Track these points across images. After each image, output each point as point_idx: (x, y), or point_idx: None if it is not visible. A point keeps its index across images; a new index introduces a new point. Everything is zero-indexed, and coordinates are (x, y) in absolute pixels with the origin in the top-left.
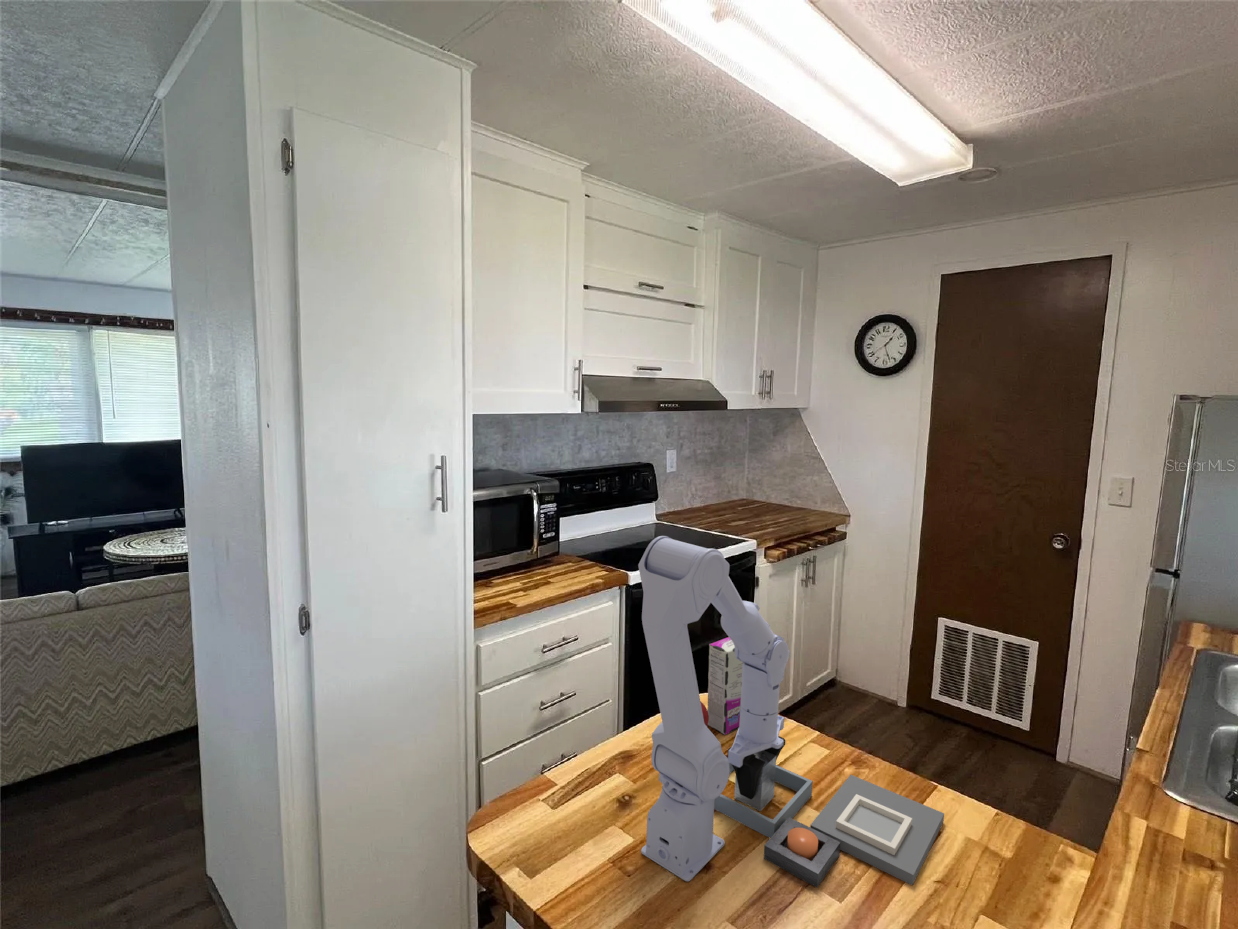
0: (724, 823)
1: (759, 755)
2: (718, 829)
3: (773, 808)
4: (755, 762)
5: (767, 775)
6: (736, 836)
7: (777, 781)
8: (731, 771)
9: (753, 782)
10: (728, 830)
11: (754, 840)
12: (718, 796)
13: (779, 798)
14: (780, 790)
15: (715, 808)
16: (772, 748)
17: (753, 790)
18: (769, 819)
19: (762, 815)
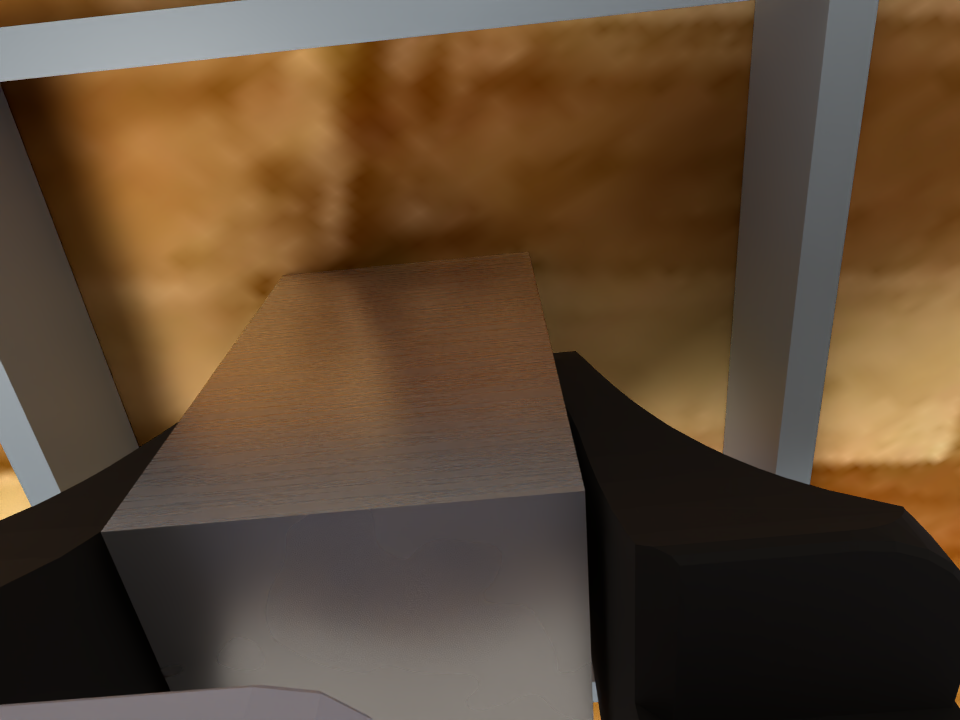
0: (844, 354)
1: (326, 667)
2: (933, 346)
3: (409, 197)
4: (838, 655)
5: (409, 400)
6: (934, 212)
7: (98, 360)
8: None
9: (675, 432)
10: (902, 293)
11: (898, 78)
12: None
13: (254, 235)
14: (160, 286)
15: None
16: (65, 667)
17: (609, 383)
18: (843, 24)
19: (825, 121)
